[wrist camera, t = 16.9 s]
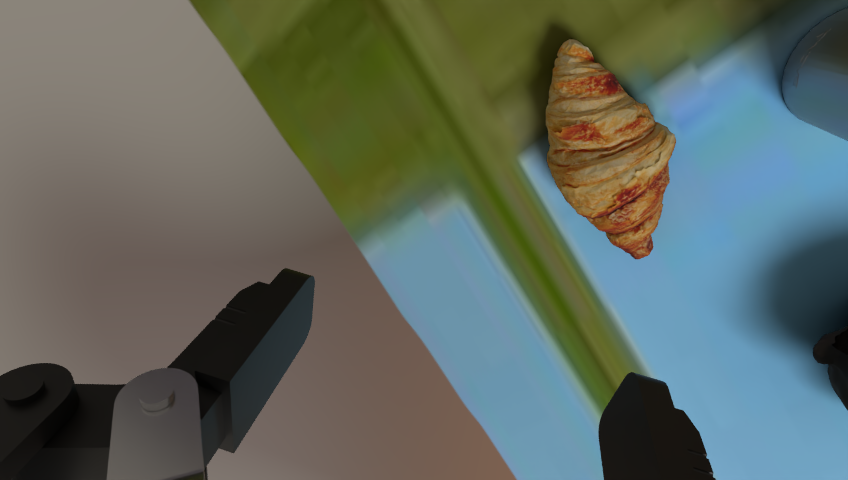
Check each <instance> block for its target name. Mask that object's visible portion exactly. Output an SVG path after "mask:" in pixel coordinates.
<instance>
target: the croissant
mask: <svg viewBox="0 0 848 480" xmlns="http://www.w3.org/2000/svg"><path fill="white" fill-rule="evenodd" d="M557 56H558V58H556V60H555V62H554V64H555V67H554V69H553V76H552V83H551V86H550V90H549V99H548V105H547V107H546V126H547V129H548V134H549V135H548V140H549V144H550V148H549V151H548V153H547V163H548V166H549V168H550V170H551V174H552V176H553V178H554V180H555V182H556V185H557V187H558V188H559V190H560V191H561V192H562V194H563V196H564V198H565V200H566V201H567V202H568V203H569V204H570V205H571V206H572V207H573V208H574V209H575V210H576V212H577V213H578V214H580V215H582V216H583V217H586V218H587V219H588V220H589V222H590V223H592V224H593V225H594V226H595V227H596V228H597V229H598V230H601V231H605V232H606V235H607V238H608V239H609V241H610V242H611V243H612V244H613V245H615V246H617V247H619V248H621V249H623V250H624V251H625V252H627V253H630V254H631V256H632V257H633V258H635V259H641V258H643V257H645V256H648V255H649V254H650V252H651V250H652V249H653V242H652V237H651V233H653V232H654V230H655V228H656V227H657V225H658V220H659V218H660V215H661V212H662V207H663V204H662V200H663V194H664V192H665V189H666V186H667V185H668V184H669V180H670V179H669V167H668V161H669V159H670V157H671V155H672V152H673V150H674V147H675V143H676V139H675V135H674V134H673V133H671V132H670V131H669V129H668V128H667V127H666V126H664V125H661V124H660V123H657V122H655V120H654V118H653V115H652V114H651V113H650V111H649V109H648V107H647V105H646V104H645V103H644V104H641V103H638V102H637V101H635V100H634V99H633V98H632V97H630V96H629V95H628V94H627V93H626V92H625V91H624V89H623V88H622V87H621V85H620V84H619V83H618V81H617V79H616V77H615V75H614V74H612V73H611V72H610V71H608V70H605V68H604V67H603V66H602V65H600V64H599V63H594V57H593V55H592V53H591V51H590V50H589V48H588V47H585V46H583V45H582V44H581V43H580V42H579V41H577V40H573V39H569V40H567V41H566V42H564V43H563V44H562V46H561V47H560V49H559V51H558V54H557Z"/></svg>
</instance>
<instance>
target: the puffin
mask: <svg viewBox="0 0 848 480" xmlns="http://www.w3.org/2000/svg"><path fill="white" fill-rule="evenodd" d="M813 356H814V358H815V360H816V361H817V362H818V363H821V364H828V365H829V367H828V374H829V379H830V382H831V385H832V387H833V389H834V391H835V392H836V394H837V395H838V397H839V398H840V399H841V401H842V403H843V404H844V406H845V407H846V409H847V410H848V325H847V326H846V327H844V328H843V329H841V330H838V331H835V332H832V333H828V334H825V335H823V336H822V337H821V338H820V339H819V341H818V342H817V343H816V344H815V346H814V348H813Z"/></svg>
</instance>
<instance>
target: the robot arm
mask: <svg viewBox="0 0 848 480" xmlns="http://www.w3.org/2000/svg"><path fill="white" fill-rule="evenodd" d="M782 93H783V97H784V100H785V103H786V105H787V106H788V108H789V110H790V111H791V112H792V113H793V114H794V115H795V116H796V117H797V118H798V119H800V120H802V121H804V122H806V123H809V124H811V125H813V126H815V127H818V128H820V129H822V130H824V131H827V132H829V133H831V134H833V135H835V136H838V137H840V138H842V139H844V140H847V141H848V8H846V9H843V10H841V11H838V12H836V13H835V14H833V15H831V16H829V17H828V18H826V19H824V20H823V21H822V22H820V23H819V24H818V25H817V26H815V27H814V28H813V29H811V30H810V31H809V32H808V33H807V35H806V36H805V37H804V38H803V39H802V40H801V41H800V42H799V43H798V45H797V46H796V48H795V49H794V51H793V52H792V54H791V56H790V58H789V60H788V62H787V64H786V67H785V70H784V74H783V79H782ZM314 285H315V280H314V277H313V276H310V275H307V274H304V273H300V272H297V271H294V270H290V269H287V268H285V269H283V270H282V271H281V272H280V273H279V274H278V275H277V276H276V278H275V279H274V280H273V281H272V282H271V283H270V284H265V283H262V282H257V283H255V284H253V285H251V286H249V287H247V288H245V289H243V290H241V291H240V292H239V293H238V294H237V295H236V296H235V297H234V298H233V299H232V300H231V301H230V302H229V303H228V304H227V306H226V308H224V309H222V311H221V312H220V313H219V314H218V315H217V316H216V318H215V320H212V321H211V322H210V323H209V324H208V325H207V326H206V327H205V329H204V330H203V331H202V332H201V333H200V334H199V335H198V336H197V337H196V338H195V339H194V340H193V341H192V342H191V343H190V345H188V347H187V348H186V349H185V350H184V351H183V352H182V353H181V354H180V355H179V356H178V357H177V358H176V359H175V361H173V362H172V363H171V364H170V365H169V366H168V367H167V368H161V369H155V370H151V371H148V372H145V373H143V374H141V375H139V376H137V377H135V378H134V379H132V380H131V381H129V382H128V383H127V384H123V385H104V384H102V385H101V384H100V385H99V384H75V383H74V380H73V377H72V375H71V373H70V372H69V371H68V370H67V369H66V368H64V367H62V366H60V365H57V364H51V363H39V364H31V365H27V366H23V367H19V368H17V369H14V370H11V371H9V372H7V373H5V374H3V375H1V376H0V480H208V474H207V464H208V463H209V461H210V460H211V459H212V457H213V456H214V454H215V453H216V451H217V450H218V448H220V449H223V450H226V451H229V452H231V453H234V452H235V451H236V449H237V447H238V446H239V444H240V443H241V441H242V440H243V438H244V437H245V435H246V433H247V432H248V430H249V429H250V427H251V426H252V424H253V422H254V421H255V419H256V418H257V416H258V414H259V413H260V411H261V410H262V408H263V407H264V405H265V404H266V402H267V400H268V399H269V397H270V396H271V394H272V393H273V391H274V389H275V388H276V386H277V385H278V383H279V382H280V380H281V378H282V377H283V375H284V374H285V372H286V371H287V369H288V367H289V366H290V364H291V363H292V361H293V359H294V358H295V356H296V355H297V353H298V352H299V350H300V349H301V347H302V345H303V344H304V342H305V340H306V338H307V336H308V333H309V330H310V326H311V321H312V310H313V298H314V297H313V296H314ZM599 443H600V451H601V459H602V467H603V475H604V480H716V479H715V478H713V471H712V468H711V465H710V462H709V459H707V458H706V456H707V453H706V450H705V448H704V445H703V442H702V439H701V436H700V433H699V431H698V430H697V429H696V427H695V426H694V425H693V423H692V422H691V420H690V419H689V418H688V416H687V415H686V413H685V412H684V411H683V410H679V409H676V408H674V405H673V402H672V399H671V395H670V392H669V389H668V386H667V385H666V383H665V382H663V381H660V380H656V379H653V378H650V377H646V376H643V375H640V374H636V373H633V372H631V373H629V374H627V375H626V377H625V378H624V380H623V381H622V383H621V384H620V386H619V388H618V389H617V391H616V392H615V394H614V395H613V397H612V399H611V400H610V402H609V403H608V405H607V407H606V408H605V410H604V411H603V414H602V416H601V419H600V424H599Z"/></svg>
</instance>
